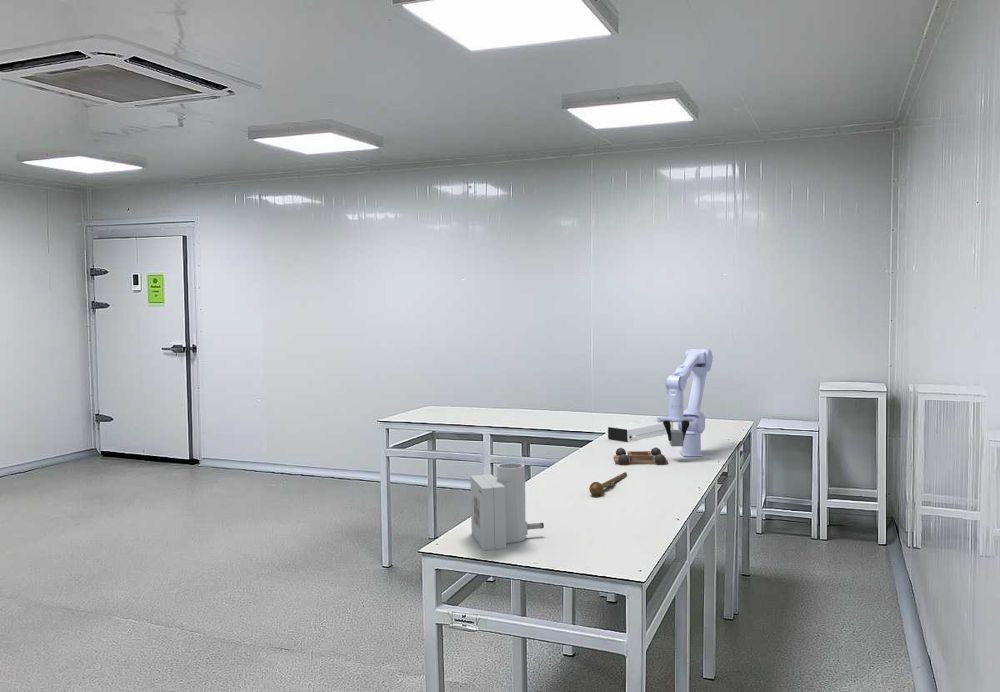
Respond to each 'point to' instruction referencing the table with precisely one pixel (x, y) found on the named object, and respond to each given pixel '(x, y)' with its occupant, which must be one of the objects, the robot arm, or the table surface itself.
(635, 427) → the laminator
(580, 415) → the table surface
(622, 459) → the chassis
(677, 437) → the block
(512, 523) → the box with tube attached
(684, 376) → the robot arm
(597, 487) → the ball-headed bronze rod
